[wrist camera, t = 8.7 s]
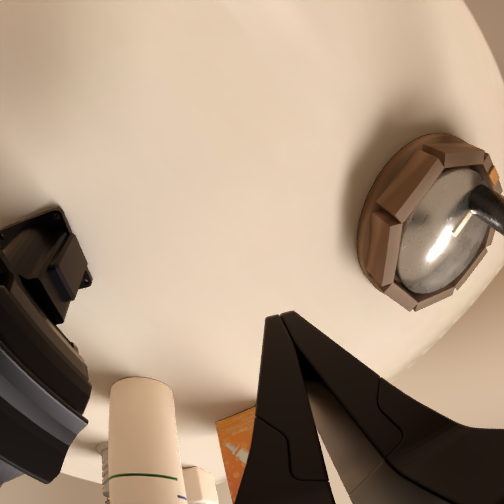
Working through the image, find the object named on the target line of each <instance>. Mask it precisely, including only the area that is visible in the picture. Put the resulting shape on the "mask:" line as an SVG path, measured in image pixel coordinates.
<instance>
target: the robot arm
mask: <svg viewBox="0 0 504 504" xmlns="http://www.w3.org/2000/svg"><path fill="white" fill-rule="evenodd" d="M55 213H57V214H59V216H60V218H57V217H56V216H55ZM1 234H2V235H3V236H4V237H2V235H1ZM2 250H3V251H2ZM87 264H88V263H87V261H86V258H85V256H84V254H83V252H82V249H81V247H80V245H79V242H78V240H77V238H76V235H75V234H73V233H72V231H71V229H70V226H69V224H68V221H67V219H66V216H65V214H64V212H63V210H62V209H61V208H54V209H51V210H49V211H46V212H43V213H40V214H38V215H35V216H32V217H30V218H27V219H25V220H22V221H19V222H17V223H14V224H12V225H9V226H7V227H5V228H2V229H0V487H1V486H2V484H3V483H5V482H7V481H10V480H12V479H14V478H16V477H18V476H21V475H23V474H27V475H28V476H30V477H32V478H34V479H37V480H38V481H40V482H42V483H44V484H49V483H50V482H51V481H52V480H53V479H54V478H55V477H57V475H58V474H59V473H60V471H61V468H62V465H63V462H64V459H65V456H66V453H67V451H68V448H69V446H70V445H71V443H72V442H73V440H74V439H75V437H76V436H77V434H78V433H79V432H80V431H81V430H82V429H83V428H84V427H85V426H86V425H87V424H88V420H87V419H86V418H85V417H83V416H82V415H83V413H84V411H85V408H86V406H87V403H88V401H89V398H90V393H91V388H92V385H91V384H90V383H89V382H88V371H87V366H86V364H85V362H84V360H83V359H82V357H81V356H80V355H79V353H78V348H77V347H76V346H75V345H74V343H73V342H70V341H69V340H68V339H67V338H66V336H65V335H64V334H63V333H62V332H61V331H60V329H59V328H58V327H57V326H56V325H57V324H62V323H63V322H64V319H65V316H66V313H67V310H68V307H69V304H70V301H73V300H75V297H76V294H77V291H78V289H82V288H86V287H89V286H91V284H92V280H93V279H92V276H91V274H90V272H89V270H88V268H87ZM84 279H87V280H88V281H85V280H84ZM316 428H317V429H316ZM317 430H318V432H319V434H320V436H321V438H322V440H323V443H324V445H325V447H326V449H327V451H328V453H329V455H330V457H331V459H332V461H333V464H334V466H335V468H336V470H337V472H338V474H339V476H340V478H341V480H342V482H343V484H344V487H345V489H346V491H347V492H348V494H349V497H350V499H351V501H352V503H353V504H504V429H486V428H485V429H484V428H473V427H468V426H465V425H462V424H459V423H457V422H455V421H453V420H451V419H449V418H447V417H445V416H443V415H441V414H440V413H438V412H436V411H434V410H432V409H431V408H429V407H427V406H425V405H423V404H421V403H420V402H418V401H416V400H414V399H413V398H411V397H410V396H408V395H406V394H405V393H403V392H402V391H400V390H399V389H397V388H396V387H395V386H393V385H392V384H390V383H389V382H388V381H386V380H385V379H384V378H382V377H381V378H380V376H379V375H378V374H377V373H375V372H374V371H373V370H371V369H370V368H369V367H367V366H366V365H365V364H363V363H362V362H361V361H359V360H358V359H357V358H355V357H354V356H353V355H351V354H350V353H349V352H347V351H346V350H345V349H343V348H342V347H341V346H339V345H338V344H337V343H335V342H334V341H333V340H331V339H330V338H329V337H328V336H326V335H325V334H324V333H322V332H321V331H320V330H318V329H317V328H316V327H314V326H313V325H312V324H311V323H309V322H308V321H307V320H305V319H304V318H303V317H301V316H300V315H299V314H298V313H296V312H295V311H289V312H285V313H281V314H280V315H278V314H277V315H273V316H269V317H266V318H265V326H264V336H263V345H262V355H261V364H260V373H259V383H258V391H257V400H256V409H255V418H254V425H253V432H252V439H251V445H250V450H249V454H248V458H247V462H246V465H245V469H244V472H243V475H242V479H241V482H240V485H239V489H238V492H237V495H236V498H235V501H234V504H336V503H335V500H334V497H333V494H332V491H331V487H330V483H329V482H328V481H329V479H328V474H327V470H326V466H325V462H324V458H323V454H322V450H321V446H320V441H319V437H318V433H317Z"/></svg>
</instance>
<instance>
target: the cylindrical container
mask: <svg viewBox="0 0 504 504" xmlns="http://www.w3.org/2000/svg"><path fill="white" fill-rule="evenodd" d="M108 472H109V497H110V504H188V503H187V501H186V500H187V497H186V492H185V486H184V479H183V473H182V466H181V459H180V452H179V444H178V436H177V427H176V418H175V408H174V397H173V392H172V391H171V389H170V388H169V387H168V386H167V385H165V384H163V383H161V382H159V381H157V380H153V379H149V378H143V377H131V378H125V379H122V380H119V381H117V382H116V383H115V384H113V386H112V387H111V393H110V409H109V435H108Z"/></svg>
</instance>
